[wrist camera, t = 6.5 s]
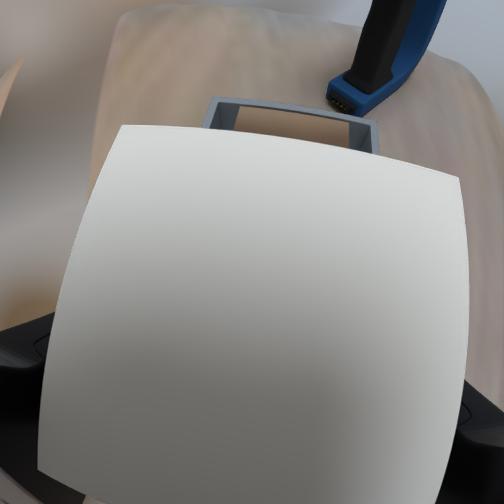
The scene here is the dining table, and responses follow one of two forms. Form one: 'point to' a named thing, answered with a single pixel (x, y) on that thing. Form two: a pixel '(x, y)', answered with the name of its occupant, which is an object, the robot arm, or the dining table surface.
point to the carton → (258, 326)
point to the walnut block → (292, 126)
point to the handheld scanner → (385, 52)
